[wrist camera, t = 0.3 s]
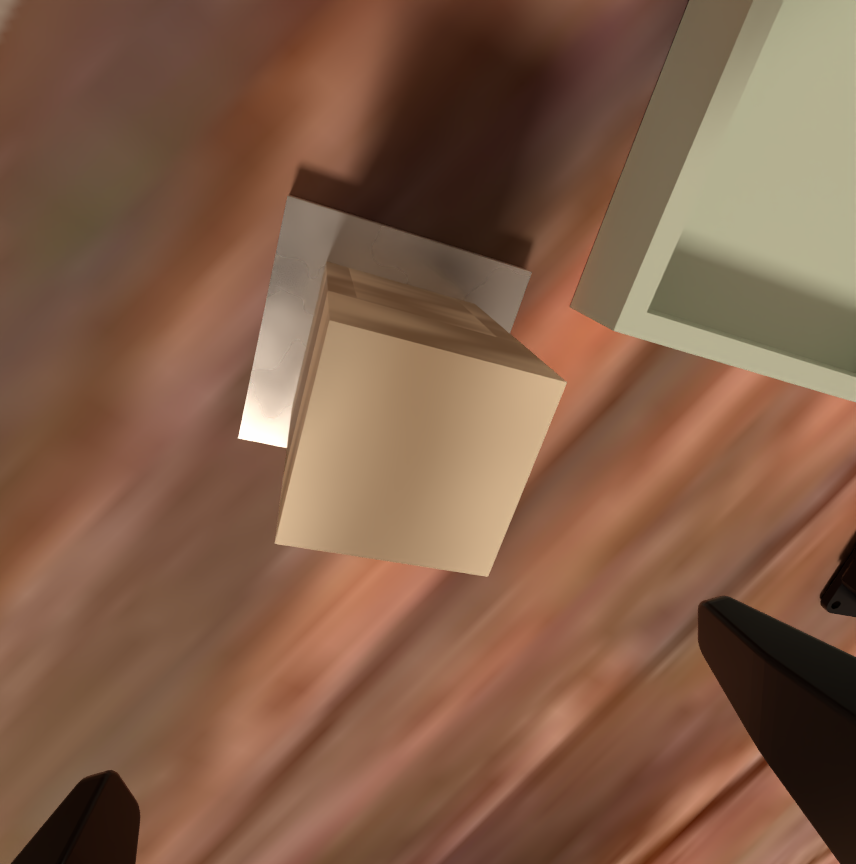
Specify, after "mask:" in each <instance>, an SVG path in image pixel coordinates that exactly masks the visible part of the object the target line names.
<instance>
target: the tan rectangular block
mask: <svg viewBox="0 0 856 864" xmlns="http://www.w3.org/2000/svg"><path fill="white" fill-rule="evenodd" d="M566 384H567V382H566V381H565V380H564V379H562V378H561V377H560V376H559V375H558V374H557V373H555V372H554V371H553V370H552V369H551V368H550V367H548V366H547V365H546V364H545V363H544V362H542V361H541V360H540V359H539V358H538V357H537V356H535V355H534V354H533V353H532V352H531V351H530V350H528V349H527V348H526V347H525V346H524V345H523V344H521V343H520V342H519V341H518V340H517V339H516V338H514V337H513V336H512V335H511V334H510V333H509V332H507V331H506V330H505V329H504V328H503V327H502V326H500V325H499V324H498V323H497V322H496V321H494V320H493V319H492V318H491V317H490V316H489V315H487V314H486V313H485V312H484V311H483V310H482V309H480V308H479V307H478V306H477V305H476V304H473V303H470V302H466V301H463V300H459V299H456V298H452V297H449V296H445V295H442V294H438V293H435V292H432V291H428V290H425V289H421V288H418V287H414V286H411V285H407V284H404V283H400V282H397V281H393V280H390V279H387V278H383V277H380V276H376V275H373V274H369V273H366V272H362V271H359V270H355V269H352V268H348V267H345V266H341V265H338V264H335V263H331V262H328V261H326V264H325V269H324V273H323V277H322V282H321V286H320V290H319V294H318V299H317V303H316V307H315V311H314V316H313V320H312V324H311V328H310V333H309V337H308V341H307V345H306V350H305V354H304V358H303V362H302V367H301V371H300V375H299V380H298V384H297V388H296V392H295V397H294V401H293V405H292V411H291V418H290V426H289V434H288V442H287V450H286V458H285V466H284V474H283V482H282V490H281V497H280V505H279V513H278V521H277V529H276V537H275V544H280V545H287V546H293V547H300V548H306V549H312V550H319V551H325V552H332V553H338V554H345V555H351V556H358V557H364V558H371V559H377V560H383V561H390V562H396V563H403V564H409V565H416V566H422V567H429V568H435V569H441V570H448V571H454V572H461V573H467V574H474V575H480V576H487V577H488V575H489V573H490V570H491V568H492V565H493V563H494V560H495V558H496V556H497V553H498V551H499V548H500V546H501V543H502V541H503V538H504V536H505V533H506V531H507V529H508V526H509V524H510V521H511V519H512V516H513V514H514V511H515V509H516V506H517V504H518V502H519V499H520V497H521V494H522V492H523V489H524V487H525V484H526V482H527V479H528V477H529V474H530V472H531V470H532V467H533V465H534V462H535V460H536V457H537V455H538V452H539V450H540V447H541V445H542V443H543V440H544V438H545V435H546V433H547V430H548V428H549V425H550V423H551V420H552V418H553V416H554V413H555V411H556V408H557V406H558V403H559V401H560V398H561V396H562V393H563V391H564V389H565V386H566Z"/></svg>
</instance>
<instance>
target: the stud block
mask: <svg viewBox="0 0 856 864" xmlns="http://www.w3.org/2000/svg"><path fill="white" fill-rule="evenodd" d="M326 261H328V262H331V263H335V264H338V265H341V266H345V267H348V268H352V269H355V270H359V271H362V272H366V273H369V274H373V275H376V276H380V277H383V278H387V279H390V280H393V281H397V282H400V283H404V284H407V285H411V286H414V287H418V288H421V289H425V290H428V291H432V292H435V293H438V294H442V295H445V296H449V297H452V298H456V299H459V300H463V301H466V302H470V303H473V304H476V305H477V306H478V307H479V308H480V309H482V310H483V311H484V312H485V313H486V314H487V315H489V316H490V317H491V318H492V319H493V320H494V321H496V322H497V323H498V324H499V325H500V326H502V327H503V328H504V329H505V330H506V331H507V332H509V333H510V332H511V329H512V326H513V323H514V320H515V318H516V315H517V312H518V309H519V307H520V304H521V301H522V298H523V295H524V293H525V290H526V287H527V284H528V281H529V279H530V276H531V273H532V272H530V271H528V270H526V269H524V268H522V267H519V266H515V265H512V264H509V263H506V262H503V261H499V260H496V259H493V258H490V257H487V256H484V255H480V254H477V253H474V252H471V251H468V250H464V249H461V248H458V247H455V246H452V245H448V244H445V243H442V242H439V241H436V240H433V239H429V238H426V237H423V236H420V235H417V234H413V233H410V232H407V231H404V230H401V229H398V228H394V227H391V226H388V225H385V224H382V223H378V222H375V221H372V220H369V219H366V218H362V217H359V216H356V215H353V214H350V213H347V212H343V211H340V210H337V209H334V208H331V207H327V206H324V205H321V204H318V203H315V202H311V201H308V200H305V199H302V198H299V197H296V196H292V195H288V196H287V201H286V206H285V211H284V216H283V221H282V226H281V231H280V236H279V241H278V245H277V250H276V255H275V260H274V265H273V270H272V275H271V280H270V285H269V290H268V295H267V299H266V304H265V309H264V314H263V319H262V324H261V329H260V334H259V339H258V344H257V349H256V353H255V358H254V363H253V368H252V373H251V378H250V383H249V388H248V393H247V398H246V403H245V407H244V412H243V417H242V422H241V427H240V432H239V437H238V438H240V439H245V440H250V441H255V442H260V443H265V444H270V445H275V446H280V447H285V448H287V442H288V434H289V426H290V418H291V411H292V405H293V401H294V397H295V392H296V388H297V384H298V380H299V375H300V371H301V367H302V362H303V358H304V354H305V350H306V345H307V341H308V337H309V333H310V328H311V324H312V320H313V316H314V311H315V307H316V303H317V299H318V294H319V290H320V286H321V282H322V277H323V273H324V269H325V264H326Z"/></svg>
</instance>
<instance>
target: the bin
mask: <svg viewBox="0 0 856 864" xmlns="http://www.w3.org/2000/svg"><path fill="white" fill-rule="evenodd" d="M570 307H571V308H572V309H574V310H576V311H578V312H580V313H582V314H584V315H585V316H587V317H589V318H591V319H593V320H595V321H597V322H598V323H600V324H602V325H604V326H606V327H608V328H609V329H611V330H613V331H616V332H620V333H623V334H626V335H630V336H633V337H636V338H640V339H643V340H647V341H650V342H653V343H657V344H660V345H664V346H667V347H670V348H674V349H677V350H680V351H684V352H687V353H691V354H694V355H697V356H701V357H704V358H707V359H711V360H714V361H718V362H721V363H724V364H728V365H731V366H735V367H738V368H741V369H745V370H748V371H751V372H755V373H758V374H762V375H765V376H768V377H772V378H775V379H779V380H782V381H785V382H789V383H792V384H795V385H799V386H802V387H806V388H809V389H812V390H816V391H819V392H822V393H826V394H829V395H833V396H836V397H839V398H843V399H846V400H850V401H853V402H856V0H689V2H688V5H687V7H686V10H685V12H684V15H683V18H682V20H681V23H680V25H679V28H678V30H677V33H676V35H675V38H674V41H673V43H672V46H671V48H670V51H669V53H668V56H667V59H666V61H665V64H664V66H663V69H662V71H661V74H660V77H659V79H658V82H657V84H656V87H655V89H654V92H653V94H652V97H651V100H650V102H649V105H648V107H647V110H646V112H645V115H644V118H643V120H642V123H641V125H640V128H639V130H638V133H637V135H636V138H635V141H634V143H633V146H632V148H631V151H630V153H629V156H628V159H627V161H626V164H625V166H624V169H623V171H622V174H621V177H620V179H619V182H618V184H617V187H616V189H615V192H614V194H613V197H612V200H611V202H610V205H609V207H608V210H607V212H606V215H605V218H604V220H603V223H602V225H601V228H600V230H599V233H598V236H597V238H596V241H595V243H594V246H593V248H592V251H591V253H590V256H589V259H588V261H587V264H586V266H585V269H584V271H583V274H582V277H581V279H580V282H579V284H578V287H577V289H576V292H575V295H574V297H573V300H572V302H571V305H570Z"/></svg>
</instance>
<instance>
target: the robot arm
mask: <svg viewBox="0 0 856 864" xmlns="http://www.w3.org/2000/svg"><path fill="white" fill-rule="evenodd" d="M821 606H822V607H823V608H824V609H825V610H827V611H828V612H830V613H834V614H840V615H846V616H852V617H856V548H855V549H854V551H853V552H852V554H851V555H850V557H849V558H848V560H847V561H846V563H845V564H844V566H843V567H842V569H841V570H840V572H839V573H838V575H837V576H836V578H835V579H834V581H833V583H832V584H831V586H830V587H829V589H828V590H827V592H826V593H825V595H824V596H823V598H822V599H821ZM698 643H699V647H700V650H701V652H702V654H703V656H704V658H705V660H706V661H707V663H708V665H709V667H710V668H711V670H712V672H713V673H714V675H715V677H716V679H717V680H718V682H719V684H720V685H721V687H722V689H723V691H724V692H725V694H726V696H727V697H728V699H729V701H730V703H731V704H732V706H733V708H734V709H735V711H736V713H737V715H738V716H739V718H740V720H741V721H742V723H743V725H744V727H745V728H746V730H747V732H748V733H749V735H750V737H751V738H752V740H753V742H754V743H755V745H756V746H757V748H758V750H759V751H760V753H761V754H762V755H763V757H764V758H765V760H766V761H767V763H768V764H769V766H770V767H771V768H772V770H773V771H774V773H775V774H776V775H777V777H778V778H779V780H780V781H781V782H782V784H783V785H784V786H785V788H786V789H787V791H788V792H789V793H790V795H791V796H792V798H793V799H794V800H795V802H796V803H797V805H798V806H799V807H800V809H801V810H802V811H803V813H804V814H805V816H806V817H807V818H808V820H809V821H810V823H811V824H812V825H813V827H814V828H815V829H816V831H817V832H818V834H819V835H820V836H821V838H822V839H823V841H824V842H825V843H826V845H827V846H828V848H829V849H830V850H831V852H832V853H833V854H834V856H835V857H836V859H837V860H838V861H839V863H840V864H856V657H854V656H852V655H850V654H848V653H846V652H844V651H842V650H840V649H838V648H836V647H834V646H831V645H829V644H827V643H825V642H823V641H821V640H819V639H817V638H815V637H813V636H811V635H808V634H806V633H804V632H802V631H800V630H798V629H796V628H794V627H792V626H790V625H788V624H785V623H783V622H781V621H779V620H777V619H775V618H773V617H771V616H769V615H767V614H765V613H762V612H760V611H758V610H756V609H754V608H752V607H750V606H748V605H746V604H744V603H742V602H739V601H737V600H735V599H733V598H731V597H728V596H718V597H715V598H711V599H708V600H704V601H702V602H701V603H700V604H699V606H698ZM139 826H140V810H139V806H138V803H137V801H136V799H135V798H134V796H133V795H132V793H131V792H130V790H129V789H128V787H127V786H126V784H125V783H124V781H123V780H122V779H121V777H120V776H119V774H118V773H117V772H115V771H113V770H108V771H104V772H101V773H97V774H94V775H90V776H87V777H85V778H83V779H82V780H81V781H80V782H79V783H78V784H77V785H76V786H75V787H74V789H73V790H72V791H71V792H70V793H69V795H68V796H67V797H66V798H65V799H64V801H63V802H62V803H61V804H60V805H59V807H58V808H57V809H56V810H55V811H54V812H53V814H52V815H51V816H50V817H49V818H48V820H47V821H46V822H45V823H44V824H43V826H42V827H41V828H40V829H39V830H38V832H37V833H36V834H35V835H34V836H33V838H32V839H31V840H30V841H29V842H28V844H27V845H26V846H25V847H24V848H23V850H22V851H21V852H20V853H19V854H18V856H17V857H16V858H15V859H14V860H13V862H12V863H11V864H135V862H136V853H137V844H138V835H139Z"/></svg>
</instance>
